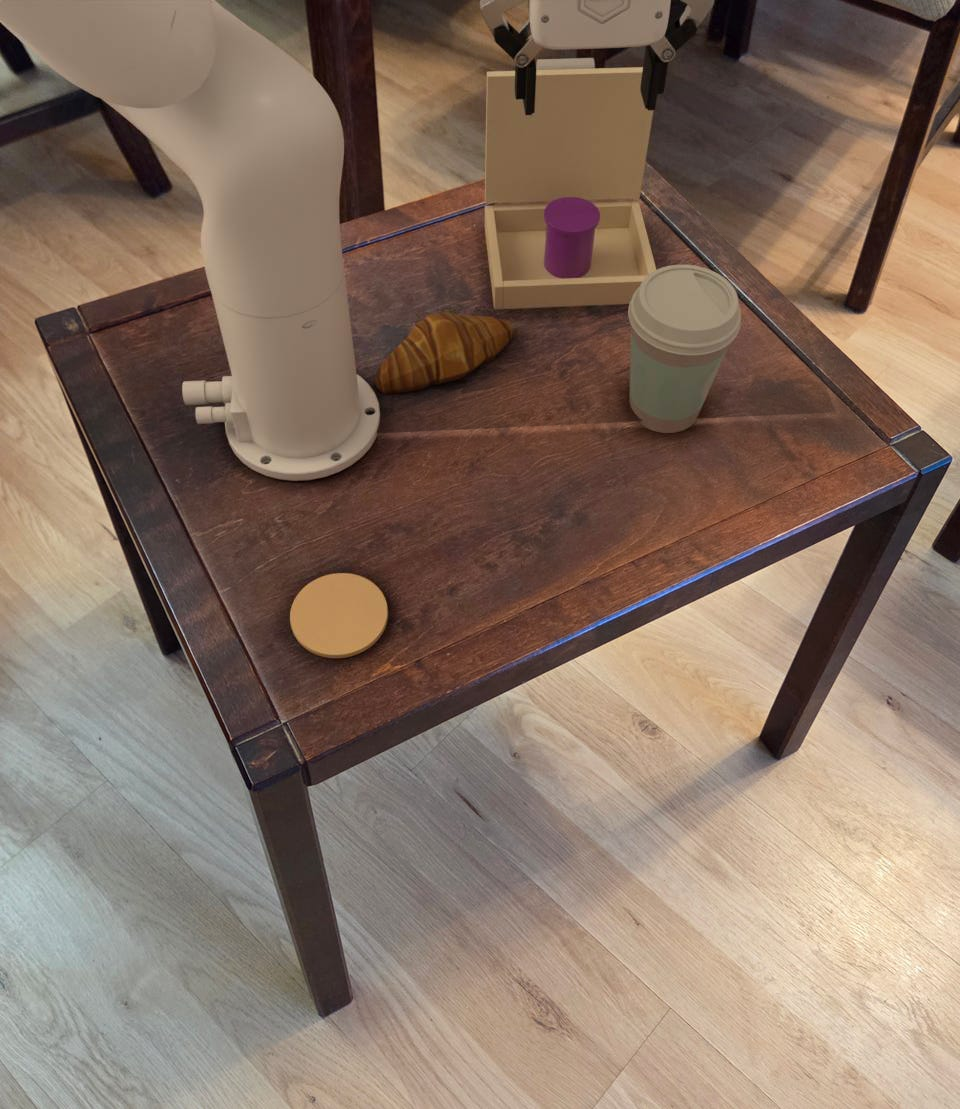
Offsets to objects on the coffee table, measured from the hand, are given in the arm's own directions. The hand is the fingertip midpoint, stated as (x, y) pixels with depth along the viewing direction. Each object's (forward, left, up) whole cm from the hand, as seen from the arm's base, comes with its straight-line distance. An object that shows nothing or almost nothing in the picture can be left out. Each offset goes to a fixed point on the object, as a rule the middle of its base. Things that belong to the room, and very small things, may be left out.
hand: (587, 103), depth 84 cm
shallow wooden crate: (0, +1, -17) cm, 17 cm away
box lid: (0, +6, -7) cm, 9 cm away
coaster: (-21, -36, -17) cm, 46 cm away
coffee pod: (0, +1, -16) cm, 16 cm away
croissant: (-12, -11, -17) cm, 24 cm away
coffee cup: (+6, -17, -17) cm, 25 cm away
